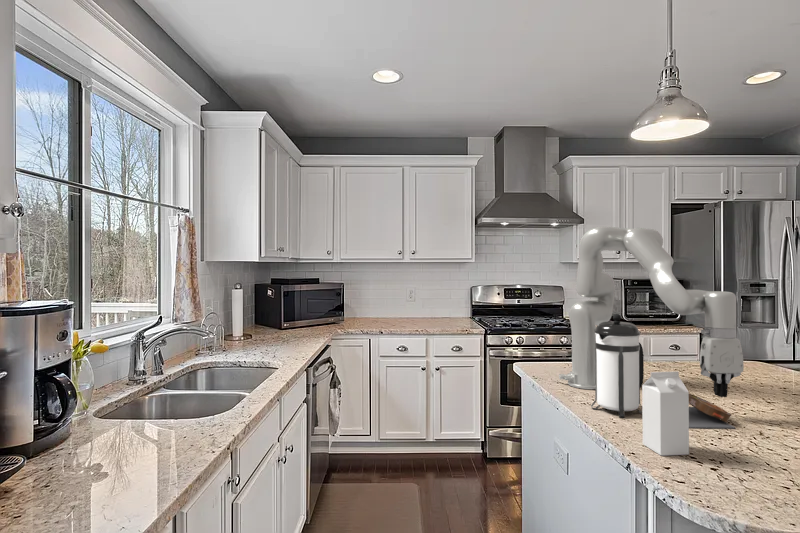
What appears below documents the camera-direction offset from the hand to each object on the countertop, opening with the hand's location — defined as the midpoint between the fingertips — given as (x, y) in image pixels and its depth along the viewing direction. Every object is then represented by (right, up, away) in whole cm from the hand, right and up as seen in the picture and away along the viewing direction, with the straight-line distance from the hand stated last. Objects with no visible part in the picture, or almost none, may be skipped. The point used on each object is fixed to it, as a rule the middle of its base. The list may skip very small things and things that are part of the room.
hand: (720, 395), depth 134 cm
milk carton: (-29, -7, -23) cm, 38 cm away
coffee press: (-26, -7, +8) cm, 28 cm away
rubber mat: (-8, -7, 0) cm, 10 cm away
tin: (0, -6, 0) cm, 6 cm away
